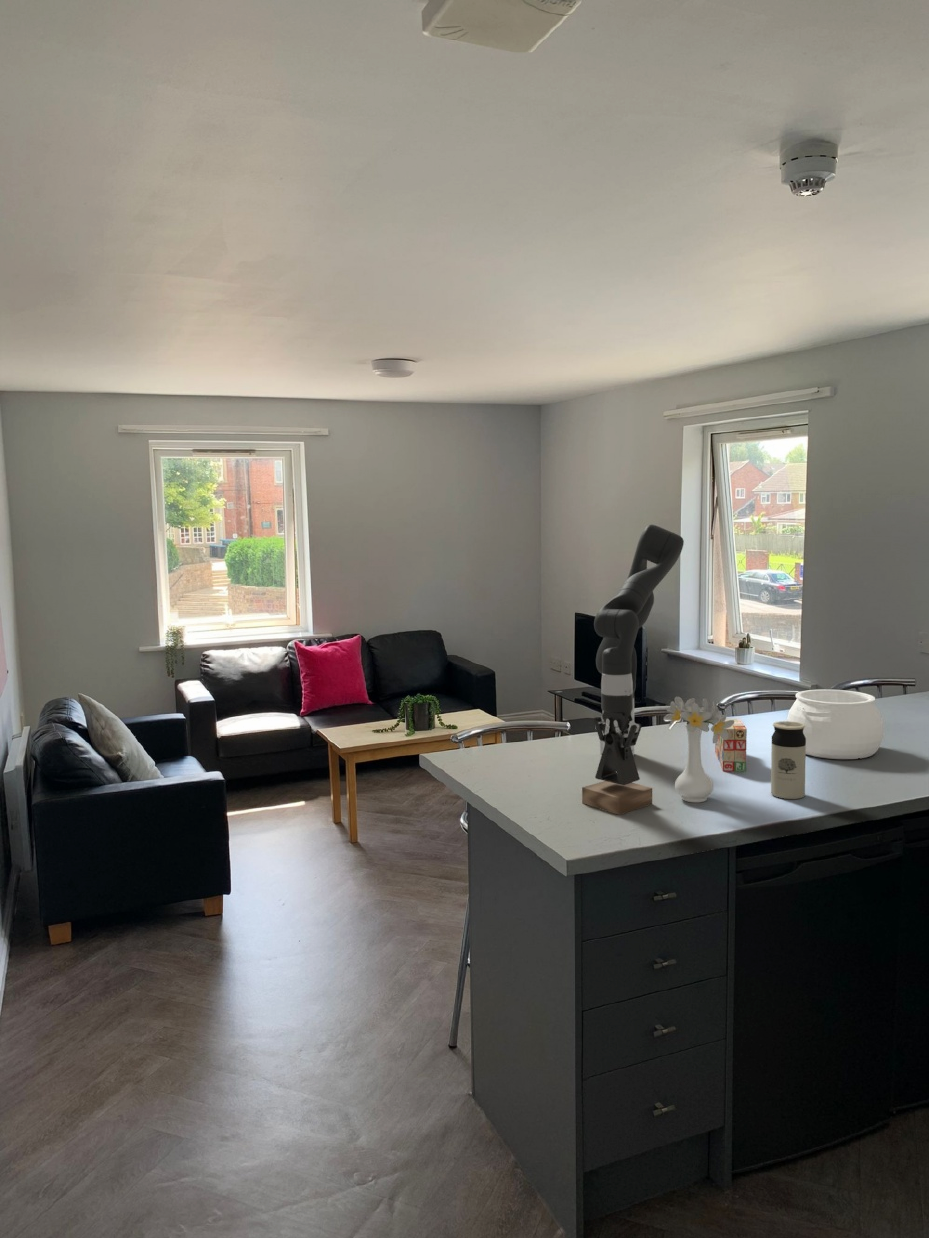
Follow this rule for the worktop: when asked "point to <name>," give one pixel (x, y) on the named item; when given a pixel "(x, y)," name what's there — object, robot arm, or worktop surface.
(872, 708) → the pot
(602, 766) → the door stopper
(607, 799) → the walnut base
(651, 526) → the robot arm
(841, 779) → the worktop surface
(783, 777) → the travel mug
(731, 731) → the stack of blocks
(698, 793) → the flower vase
